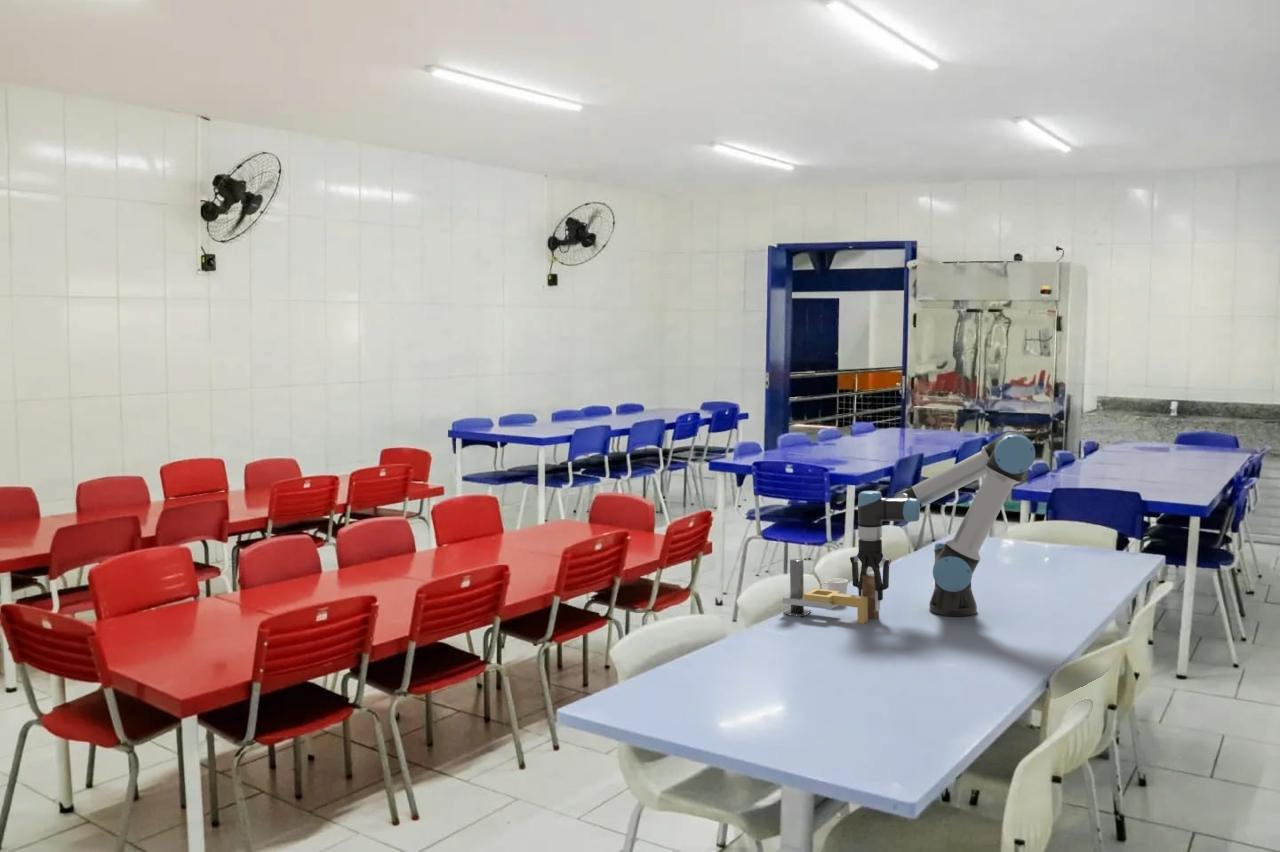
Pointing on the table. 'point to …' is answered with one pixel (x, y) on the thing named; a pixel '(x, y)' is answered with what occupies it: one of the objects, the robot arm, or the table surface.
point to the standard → (800, 592)
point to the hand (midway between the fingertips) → (870, 609)
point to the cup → (837, 585)
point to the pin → (870, 594)
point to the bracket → (840, 601)
